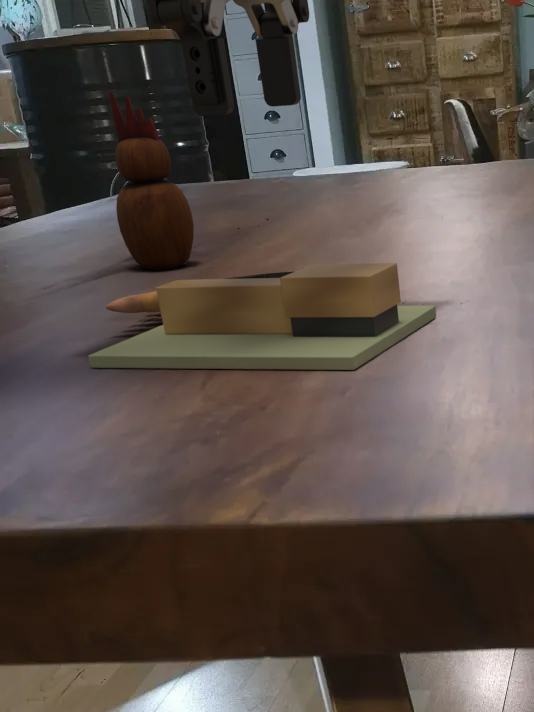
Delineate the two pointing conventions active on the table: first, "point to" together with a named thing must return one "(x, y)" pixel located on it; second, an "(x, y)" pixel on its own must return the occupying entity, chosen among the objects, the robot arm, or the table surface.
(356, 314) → the brush
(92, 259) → the table surface
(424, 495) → the table surface
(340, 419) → the table surface
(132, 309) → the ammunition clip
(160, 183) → the wooden figurine
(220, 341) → the felt mat
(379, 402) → the table surface
